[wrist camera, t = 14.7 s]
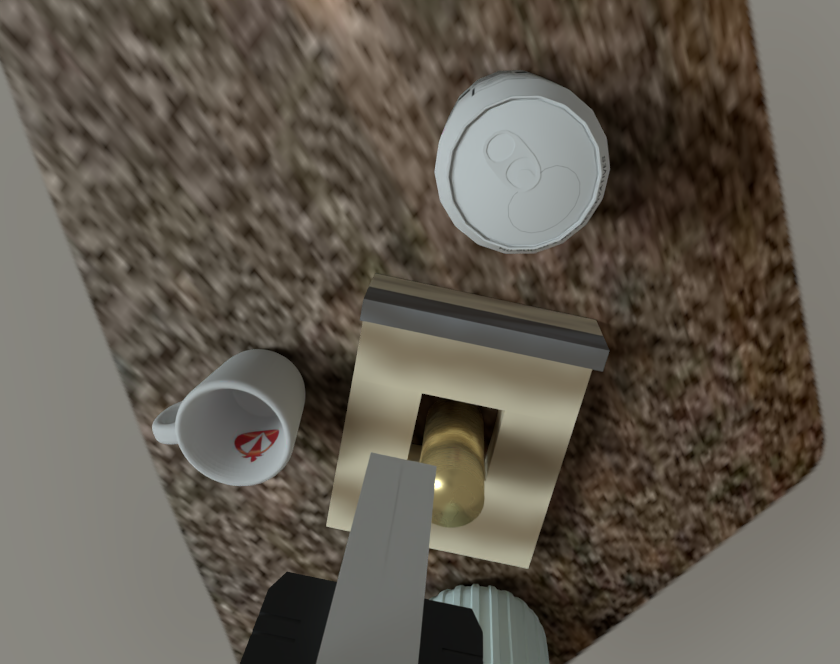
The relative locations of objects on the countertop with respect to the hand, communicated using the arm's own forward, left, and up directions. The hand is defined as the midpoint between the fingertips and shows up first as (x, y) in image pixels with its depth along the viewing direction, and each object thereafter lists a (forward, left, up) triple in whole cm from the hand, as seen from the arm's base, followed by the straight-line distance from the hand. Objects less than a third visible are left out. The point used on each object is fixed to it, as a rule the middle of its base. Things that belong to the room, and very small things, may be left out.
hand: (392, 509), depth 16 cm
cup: (+17, -12, -35) cm, 40 cm away
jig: (+16, +4, -34) cm, 38 cm away
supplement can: (-5, +3, -35) cm, 35 cm away
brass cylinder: (+16, +4, -34) cm, 38 cm away
